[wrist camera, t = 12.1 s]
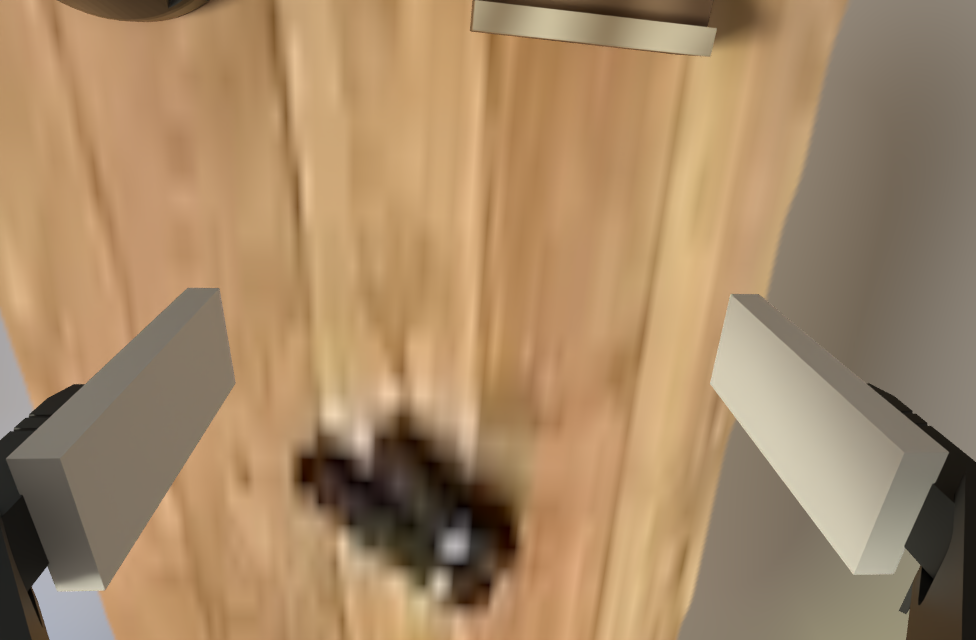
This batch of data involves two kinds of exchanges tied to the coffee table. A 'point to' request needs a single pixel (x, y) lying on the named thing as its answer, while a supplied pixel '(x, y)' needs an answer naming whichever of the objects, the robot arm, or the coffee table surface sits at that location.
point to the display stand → (603, 23)
